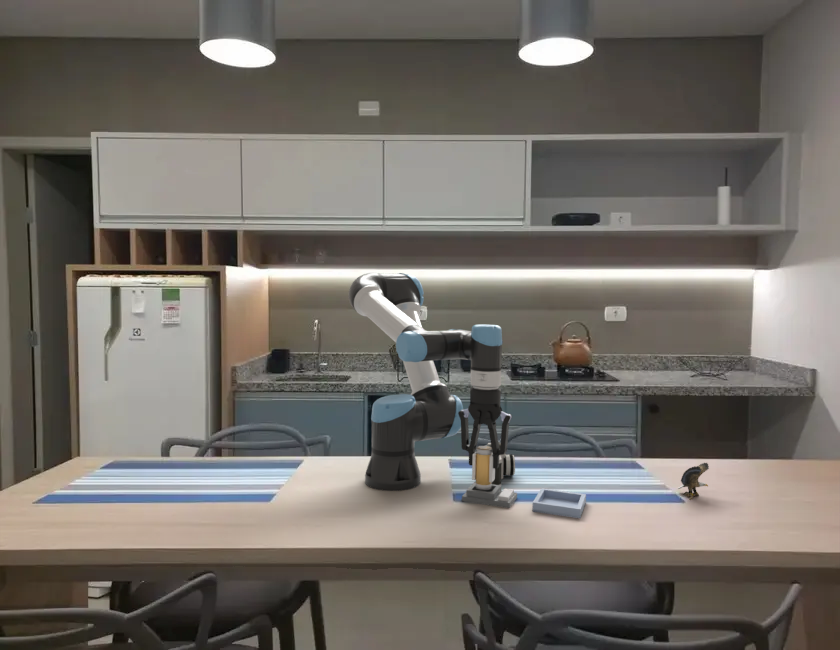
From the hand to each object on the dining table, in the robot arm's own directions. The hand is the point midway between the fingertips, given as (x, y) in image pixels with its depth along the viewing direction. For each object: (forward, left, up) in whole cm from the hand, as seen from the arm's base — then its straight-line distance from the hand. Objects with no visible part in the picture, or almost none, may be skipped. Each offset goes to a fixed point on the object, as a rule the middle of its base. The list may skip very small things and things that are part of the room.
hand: (483, 479), depth 147 cm
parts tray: (+19, +1, -5) cm, 19 cm away
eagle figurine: (+49, +24, -5) cm, 55 cm away
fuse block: (+2, 0, -5) cm, 5 cm away
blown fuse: (0, 0, -2) cm, 2 cm away
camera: (-1, +18, -5) cm, 19 cm away
